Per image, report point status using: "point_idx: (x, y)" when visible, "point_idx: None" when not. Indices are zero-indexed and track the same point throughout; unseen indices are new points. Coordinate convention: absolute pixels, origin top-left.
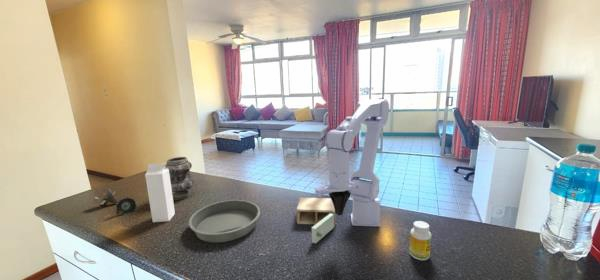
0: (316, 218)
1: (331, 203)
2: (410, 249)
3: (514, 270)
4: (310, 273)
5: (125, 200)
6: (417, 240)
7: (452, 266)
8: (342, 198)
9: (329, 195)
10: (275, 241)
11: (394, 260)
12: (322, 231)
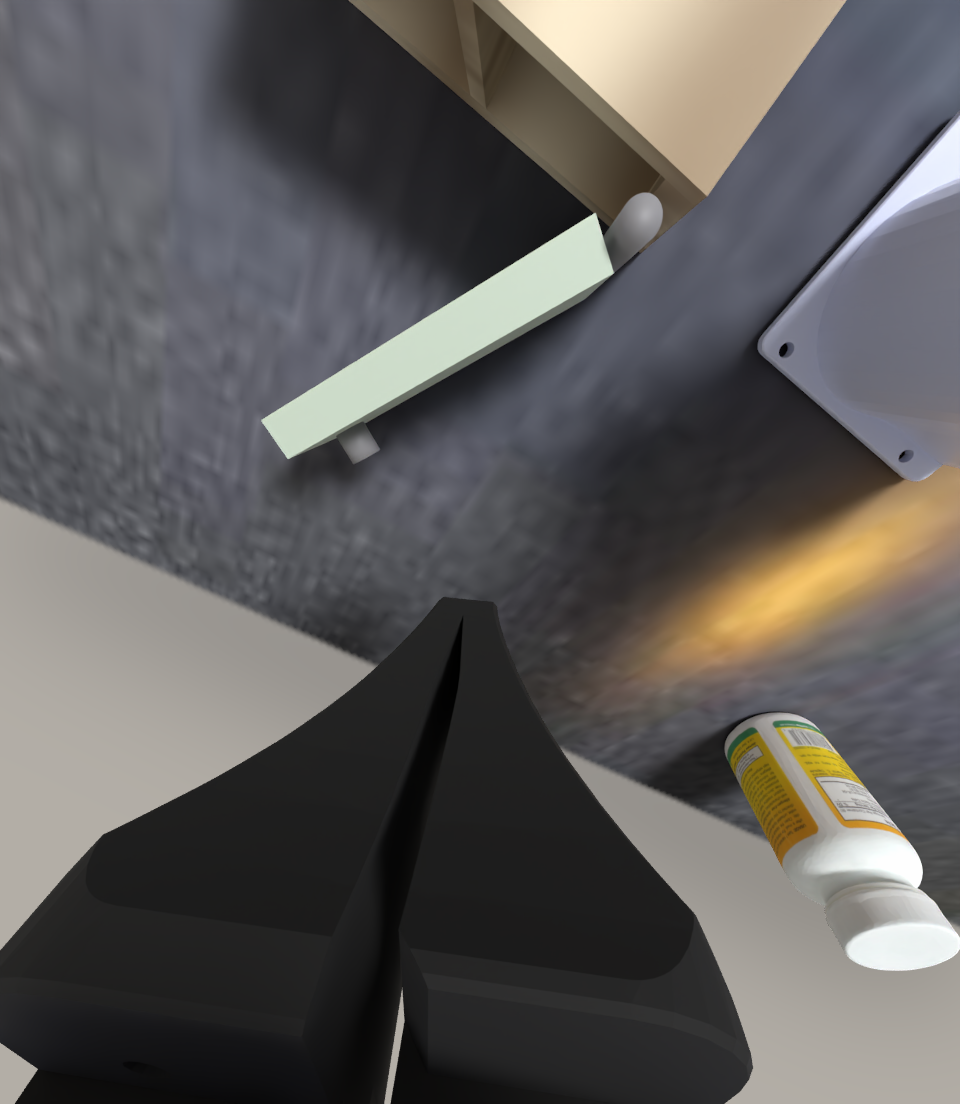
0: (475, 69)
1: None
2: (747, 753)
3: None
4: (257, 608)
5: None
6: (776, 855)
7: None
8: (391, 1037)
9: (207, 796)
10: (65, 229)
11: (639, 713)
12: (409, 395)
